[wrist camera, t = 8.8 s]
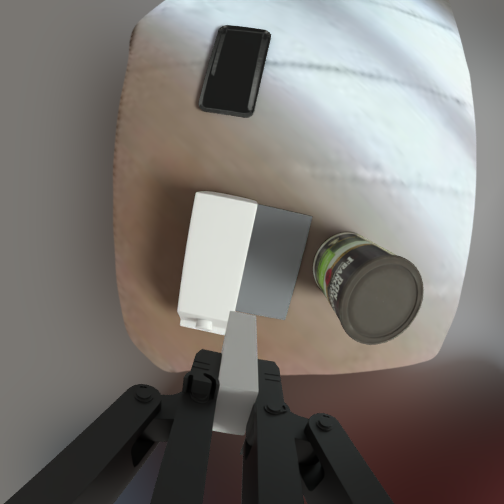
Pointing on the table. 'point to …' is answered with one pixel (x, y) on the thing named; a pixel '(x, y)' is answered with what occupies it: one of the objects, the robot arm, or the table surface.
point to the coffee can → (368, 287)
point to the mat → (272, 261)
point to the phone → (235, 71)
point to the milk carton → (214, 259)
